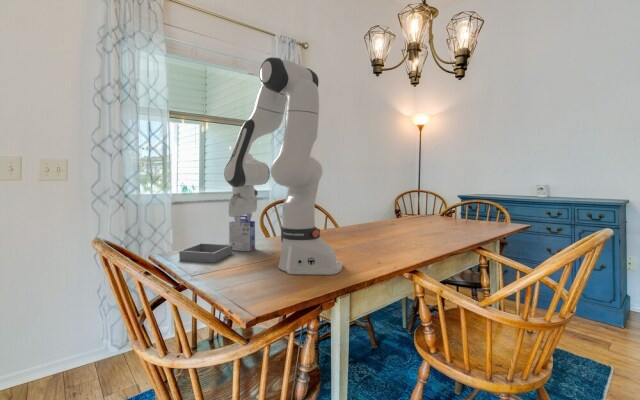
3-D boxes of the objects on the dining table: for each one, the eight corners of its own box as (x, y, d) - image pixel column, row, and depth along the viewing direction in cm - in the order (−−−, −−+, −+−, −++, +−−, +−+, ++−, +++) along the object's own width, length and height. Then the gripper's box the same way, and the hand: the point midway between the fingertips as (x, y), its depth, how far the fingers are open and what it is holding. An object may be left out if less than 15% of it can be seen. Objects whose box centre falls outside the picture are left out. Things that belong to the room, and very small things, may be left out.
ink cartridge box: (255, 248, 145) (255, 215, 143) (250, 251, 139) (250, 217, 138) (234, 247, 147) (234, 214, 145) (228, 250, 141) (228, 216, 140)
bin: (232, 253, 136) (232, 245, 136) (214, 262, 122) (213, 253, 122) (200, 251, 139) (200, 243, 139) (179, 260, 125) (179, 251, 125)
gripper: (239, 194, 130) (239, 229, 132) (259, 191, 150) (259, 221, 151) (224, 193, 132) (224, 228, 133) (246, 191, 152) (246, 221, 153)
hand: (243, 224), depth 142 cm, fingers open, 8 cm apart
